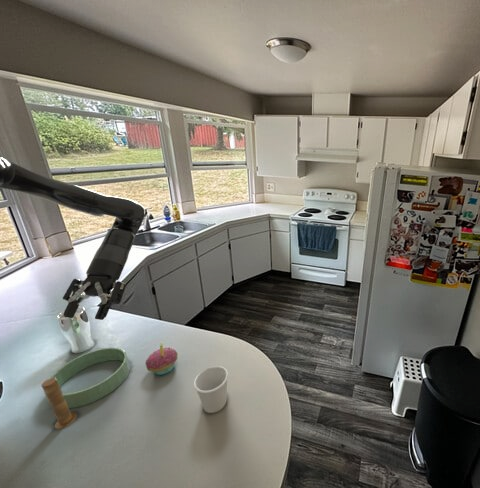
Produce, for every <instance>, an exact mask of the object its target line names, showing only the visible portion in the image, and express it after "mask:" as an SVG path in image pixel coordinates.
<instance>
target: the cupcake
mask: <svg viewBox="0 0 480 488" xmlns="http://www.w3.org/2000/svg"><path fill="white" fill-rule="evenodd" d="M178 357H179V354H178V352H177V351H176V349H174V348H172V347H163V344H162V343H160V344H159V349H156V350H155V351H152V353H151V354H150V355H149V356H148V357H147V359H146V360H145V367H146V370H147V371H148V372H154V373H155V374H156V375H159V376H161V375H166V374H168V373H170V372H171V371H172V370H173V369H174V367H175V363H176V362H177V360H178Z"/></svg>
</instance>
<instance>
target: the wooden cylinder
mask: <svg viewBox="0 0 480 488" xmlns="http://www.w3.org/2000/svg"><path fill="white" fill-rule="evenodd" d="M50 378H51V377H50ZM50 378H48V379H46V380H45V381H43V382H42V383H41V388H42V390H43V392H44V395H45V396H46V399H47V401H48V403H49V405H50V407H51V410H52V411H53V413H54V416H55V418H56V422H55V424H54V428H55V429H57V430H59V429H65V428H66V427H68V426H70V425H71V424H73V423H74V422H75V421H76V419H77V417H78V414H77V413H75V412H71V410H70V408H68V405H67V403H66V401H65V398H64V396H63V394H62V393H63V392H62V389H61V387H59V385H58V382H57V380H56V378H51V379H50Z"/></svg>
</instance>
